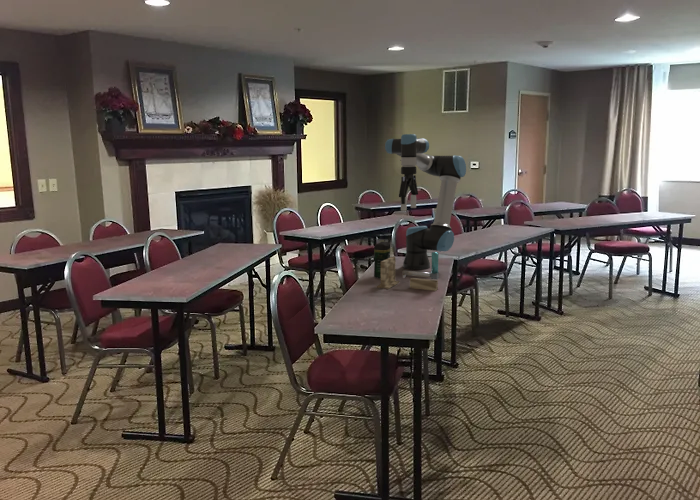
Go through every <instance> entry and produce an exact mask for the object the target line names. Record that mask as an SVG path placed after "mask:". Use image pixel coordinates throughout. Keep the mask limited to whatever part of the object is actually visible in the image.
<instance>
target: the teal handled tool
mask: <svg viewBox="0 0 700 500" xmlns="http://www.w3.org/2000/svg"><path fill="white" fill-rule="evenodd" d="M406 276H411V277H424V278H430V280H439V279H440V272H439V251H432V252H431V272H425V271H417V270H416V271H414V270H413V271H412V270H402V278H406Z"/></svg>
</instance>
